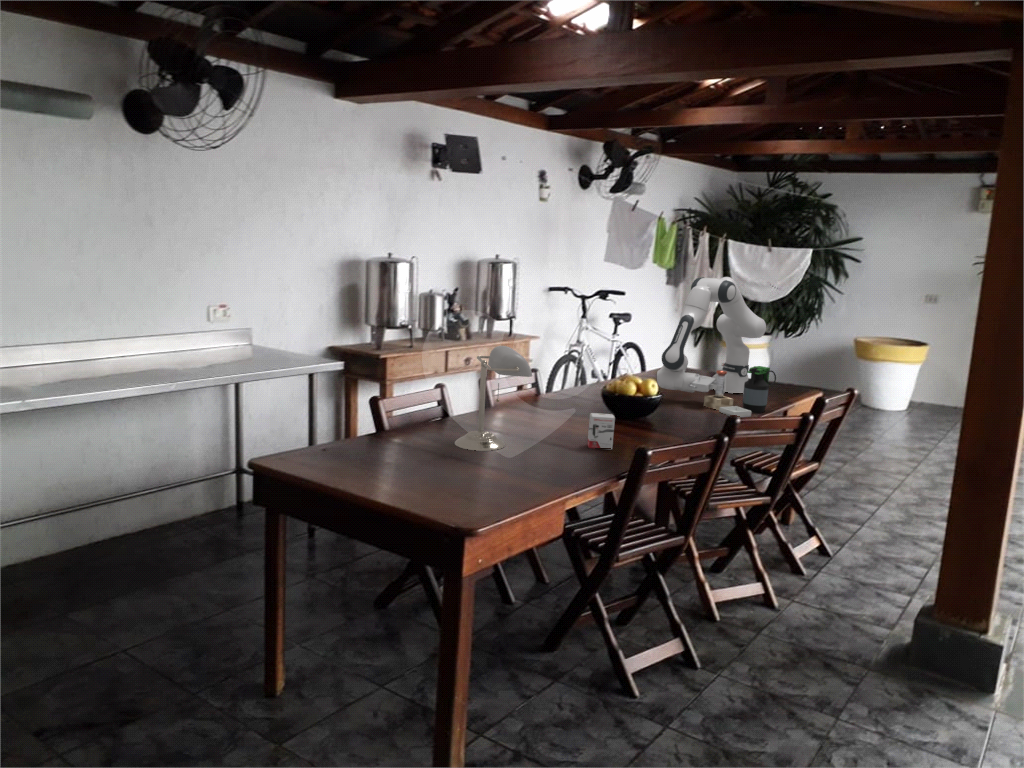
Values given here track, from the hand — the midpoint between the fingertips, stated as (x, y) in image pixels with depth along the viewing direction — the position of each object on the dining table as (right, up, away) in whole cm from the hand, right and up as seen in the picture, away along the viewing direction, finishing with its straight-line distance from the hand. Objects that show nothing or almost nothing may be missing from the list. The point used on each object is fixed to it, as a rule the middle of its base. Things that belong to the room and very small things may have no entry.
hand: (722, 386), depth 361 cm
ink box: (-64, -22, -76) cm, 101 cm away
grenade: (+15, -11, +2) cm, 19 cm away
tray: (+3, -12, -10) cm, 16 cm away
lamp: (-103, -20, -80) cm, 132 cm away
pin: (-1, -10, +2) cm, 10 cm away
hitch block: (-1, -10, +2) cm, 10 cm away
